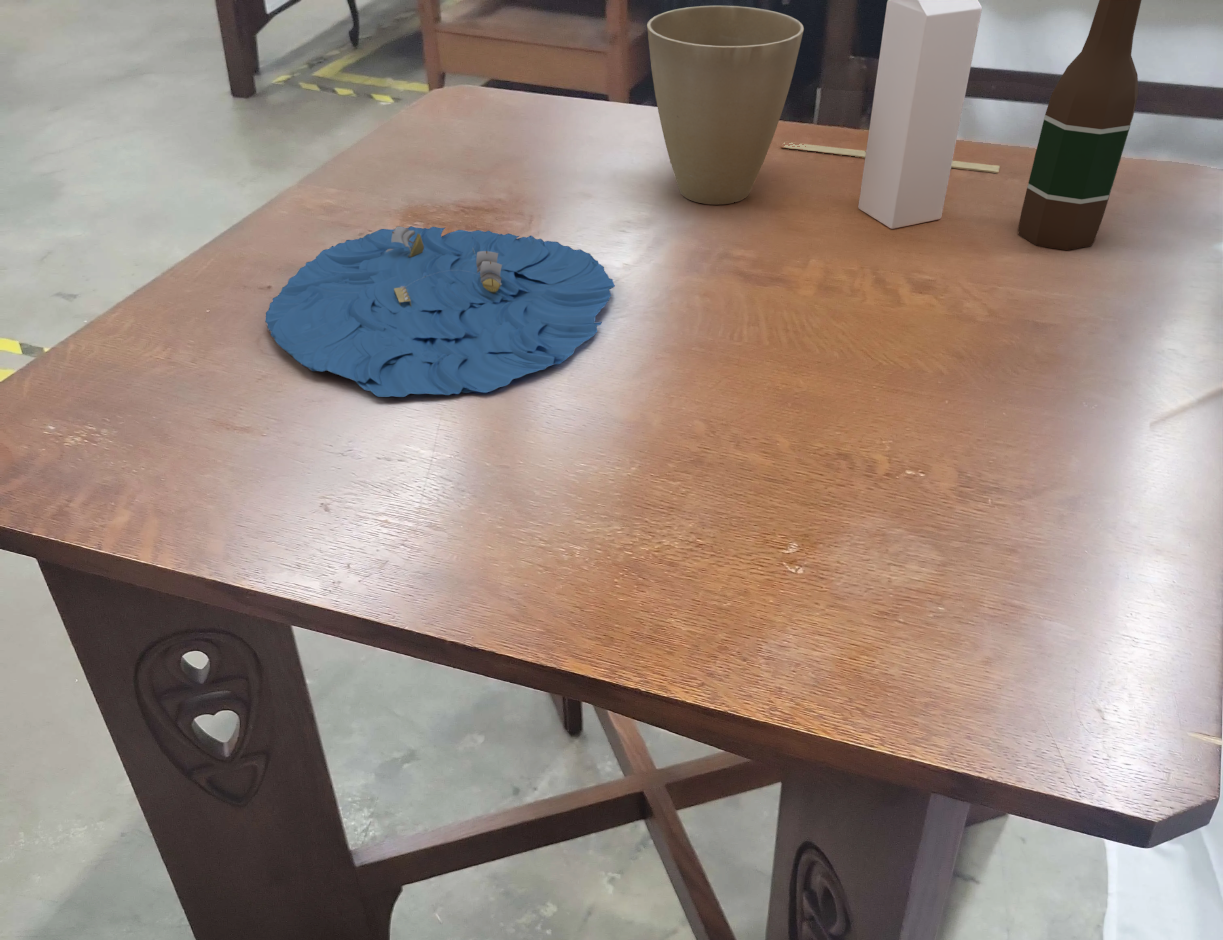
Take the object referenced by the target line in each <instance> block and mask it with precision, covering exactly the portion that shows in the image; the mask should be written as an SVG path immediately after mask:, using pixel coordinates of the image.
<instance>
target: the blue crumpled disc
mask: <svg viewBox="0 0 1223 940" xmlns="http://www.w3.org/2000/svg"><path fill="white" fill-rule="evenodd" d="M445 229H446V227H437V226H431V227H429V228H427V227H423V228H422V227H415V226H409V227H404V226H400V225H397V226H396V227H395V228H394V229H391V228H390V229H388V228H380V229H378V230H375V231H374V232H371V233H366V235H364V236H363V237H359V238H354V239H346V240H345V241H344V242H339V243H337V244H336V245H332V246H331V247H329V248H326V249H322V250H321V251H320V253H318V254H317V255H316V256H315V258H314V259H313V260H309V261H306V262H305V264H304V266H301V267H300V268H299V269H298V270H297V272H296V274H295V275H293V276H291V277H290V278H288V280H287V283H286V284H285V285H284V286H282V288H281V290H280V292H279V293H278V295H277V296H275V297H273V298H272V301H271V302H270V303H269V305H268V306H269V307H268V310H267V311H266V312H265V320H264V322H265V323H266V325H267V330H268V331H269V332H270V336H271V337H272V338H273V339H274V341H275V342H276V344H277V345H278V346H279V347H280V348H281V349H283V350H284V351H286V353H288V354H289V355H290V356H292V358H293V359H294V360H295V361H296V362H298V363H299V364H301V366H303V367H306V368H308V369H309V370H310V371H311V372H325V371H328V372H330V373H332V374H335V375H339V376H341V377H343V378H346V379H350V380H352V381H354V382H355V383H356V384H357V385H358V386H359V387H360V388H361V389H362V390H363V391H368V392H371V393H372V394H373V395H374V396H376V397H377V398H379V397H380V398H381V397H382V398H389V397H396V398H397V397H398V398H404V397H406V396H408V395H410V394H414V395H424V394H429V395H445V396H450V395H452V394H455V395H459V394H461V393H465V394H469V393H473V392H478V393H481V394H482V393H483V394H487V393H488V392H492V391H495V390H497V389H498V388H500V387H506V386H508V385H510V383H511V382H512V381H513V380H514V379H520V378H522V377H524V376H526V375H528V374H532V373H536V372H538V371H544V370H546V369H547V368H548V367H551V366H554V365H560V364H562V363H564V362H565V361H566V360H567V359H568V358H569V357H571V356H574V353H575V350H576V349H577V348H578V347H580V346H581V345H582V344H584V343H585V342H587V341H589V340H590V339H591V338H594V336H595V335H596V333H598V326H601V325H602V322H603V321H599V322H598V321H597V322H596V318H597V315H598V314H600V312H601V310H602V309H603V308H605V306H606V305H607V303H608V302H609V300H610V298H611V291H610V290H611V289H613V288H615V287H616V285H615V282H614V280H613V278H610V276H609V275H608V273H607V272H606V271H605V267H604V265H602V264H601V263H599V260H597V259H595V258H594V257H593V256H592V254H591V253H589V252H587V251H584V250H582V249H581V248H580V249H579V248H578V249H573V248H572V247H571V246H569V245H564V244H561V243H560V242H559V241H551V240H546V241H544V240H543V238H535V237H534V236H533V235H529V236H527V237H526V236H520V235H515V234H512V233H505V234H503V233H497V232H492V231H490V230H486V231H485V230H484V231H483V230H480V229H476V230H471V231H469V230H464V229H457V230H454V231H450V232H448V233H445V234H444V235H442V234H443V231H444V230H445Z"/></svg>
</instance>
